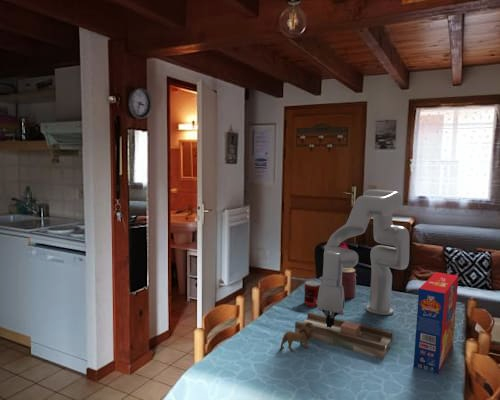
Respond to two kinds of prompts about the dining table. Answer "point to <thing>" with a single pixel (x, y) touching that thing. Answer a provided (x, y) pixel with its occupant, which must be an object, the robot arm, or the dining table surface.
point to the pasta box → (435, 321)
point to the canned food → (311, 293)
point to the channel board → (349, 336)
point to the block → (350, 328)
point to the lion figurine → (298, 336)
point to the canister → (349, 282)
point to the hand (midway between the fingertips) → (329, 326)
